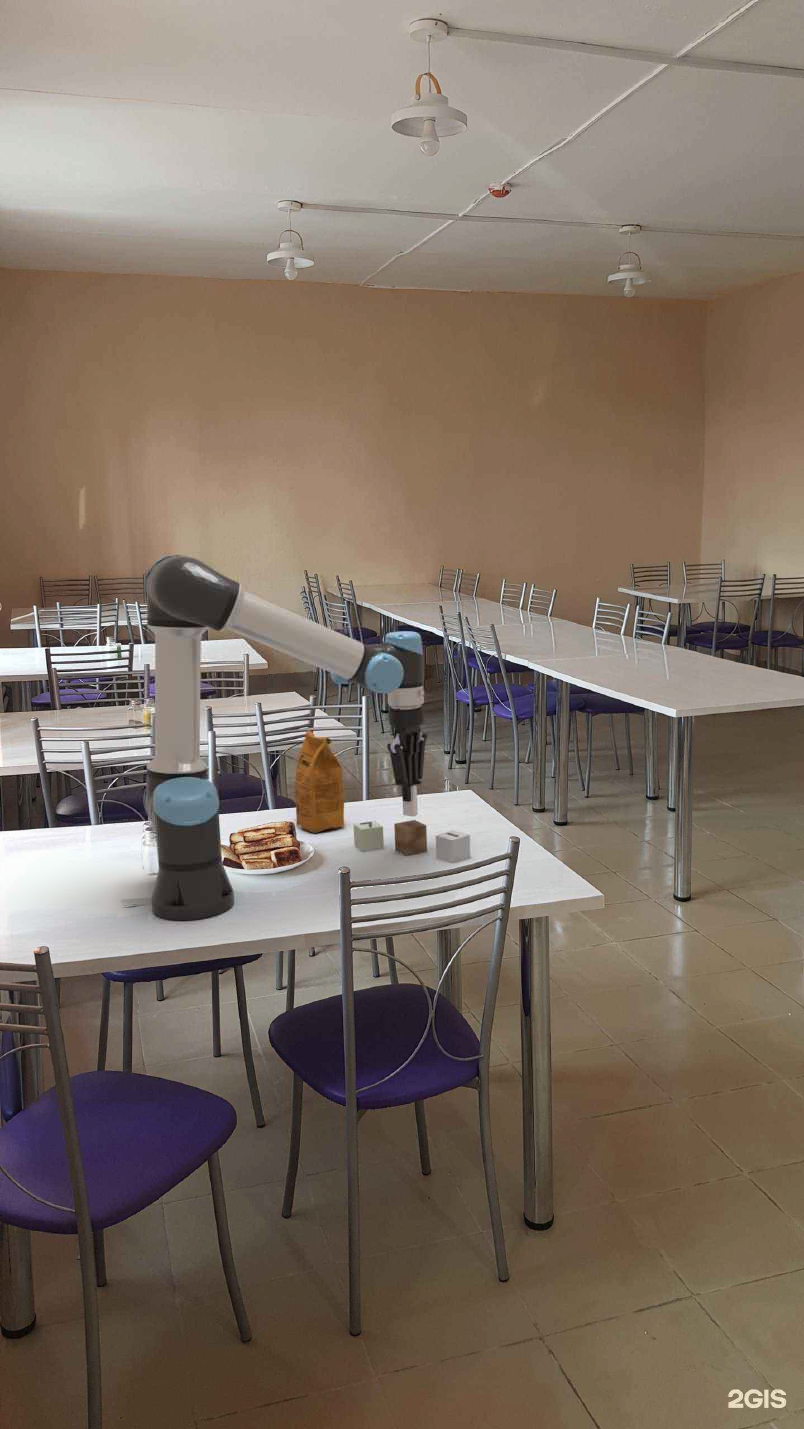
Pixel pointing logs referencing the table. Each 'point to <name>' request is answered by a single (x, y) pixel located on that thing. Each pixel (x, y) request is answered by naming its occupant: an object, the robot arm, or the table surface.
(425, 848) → the plain walnut block
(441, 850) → the grey numbered block
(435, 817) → the table surface
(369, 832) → the sage numbered block
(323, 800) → the coffee package
